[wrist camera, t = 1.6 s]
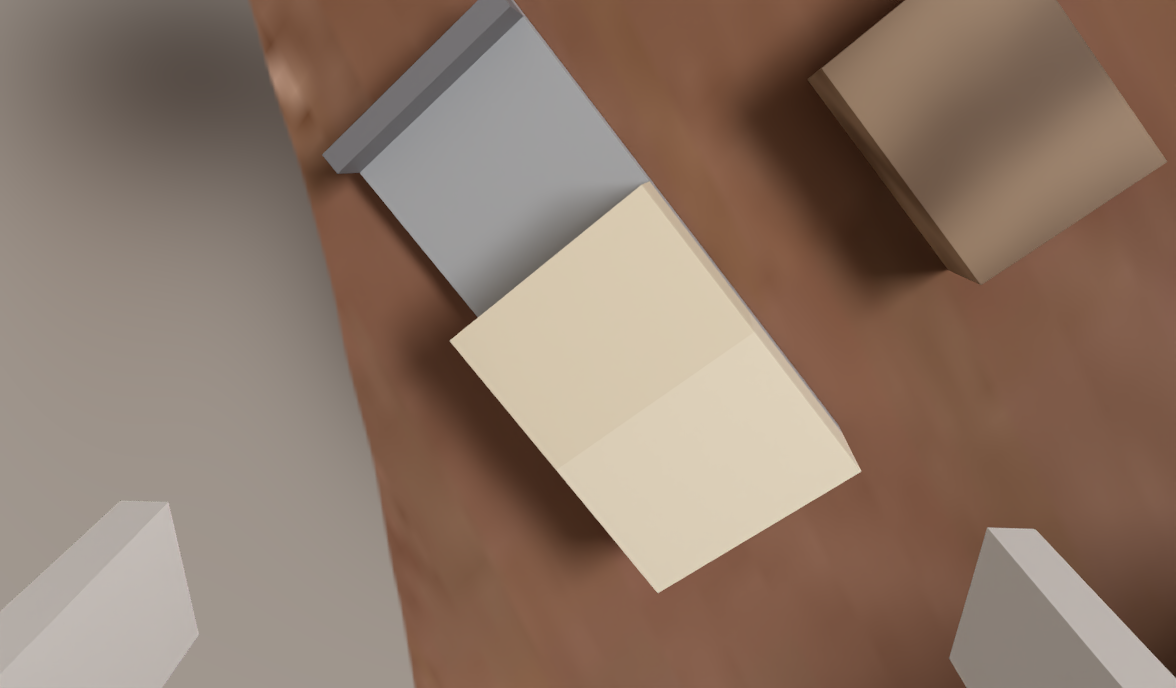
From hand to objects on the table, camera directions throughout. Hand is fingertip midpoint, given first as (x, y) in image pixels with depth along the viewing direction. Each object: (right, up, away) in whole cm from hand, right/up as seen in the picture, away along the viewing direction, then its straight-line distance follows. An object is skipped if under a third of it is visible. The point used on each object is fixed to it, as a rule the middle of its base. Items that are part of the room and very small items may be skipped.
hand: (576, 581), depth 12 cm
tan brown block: (+15, +13, +17) cm, 26 cm away
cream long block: (+1, +6, +21) cm, 22 cm away
